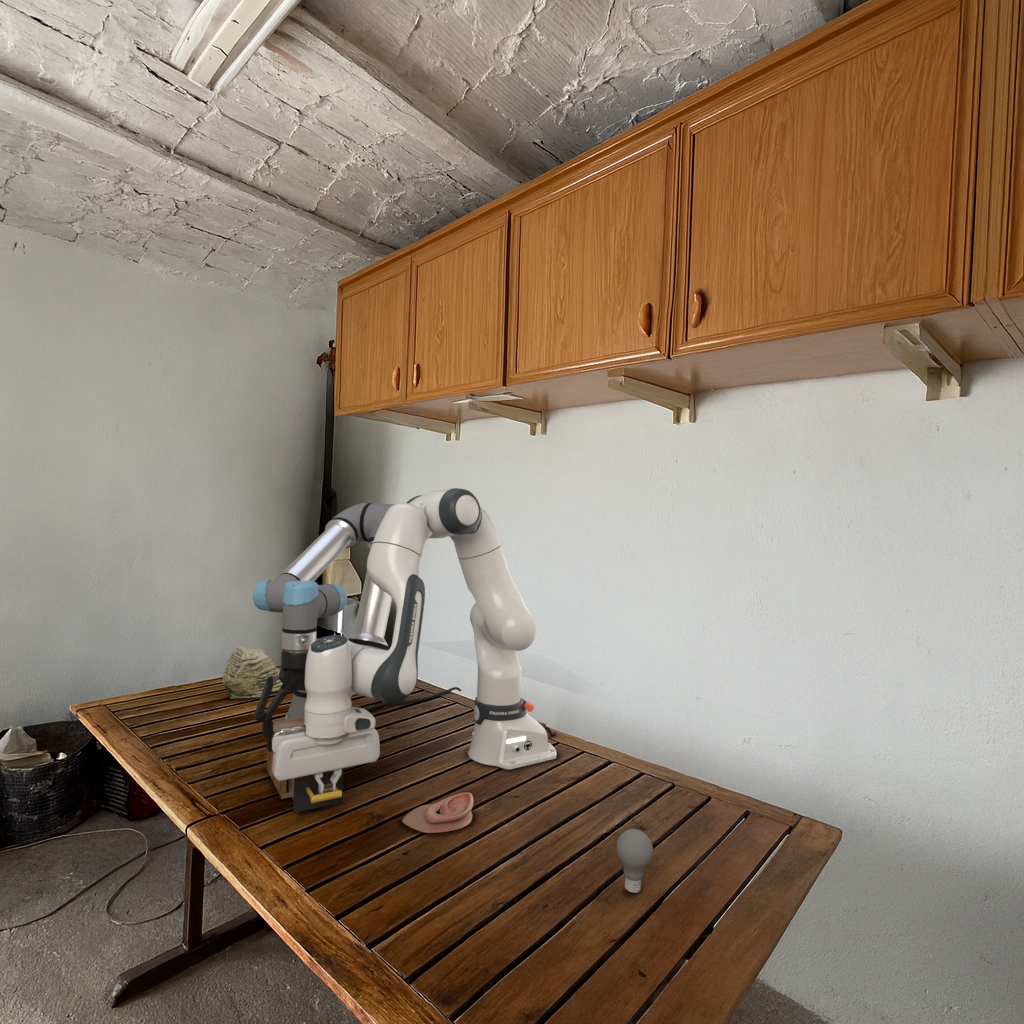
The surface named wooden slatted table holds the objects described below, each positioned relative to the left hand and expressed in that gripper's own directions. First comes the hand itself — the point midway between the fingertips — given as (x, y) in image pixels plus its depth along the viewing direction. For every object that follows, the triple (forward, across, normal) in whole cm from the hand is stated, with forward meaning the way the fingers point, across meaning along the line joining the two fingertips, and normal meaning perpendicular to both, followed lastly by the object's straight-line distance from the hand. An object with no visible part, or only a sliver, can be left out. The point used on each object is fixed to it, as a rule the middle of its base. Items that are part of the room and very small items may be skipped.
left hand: (295, 745), depth 145 cm
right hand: (0, +1, -25) cm, 25 cm away
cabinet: (+6, 0, -4) cm, 7 cm away
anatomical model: (+6, +21, -34) cm, 40 cm away
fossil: (+6, +1, +62) cm, 62 cm away
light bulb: (+7, +40, -69) cm, 80 cm away
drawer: (+5, 0, -17) cm, 18 cm away
